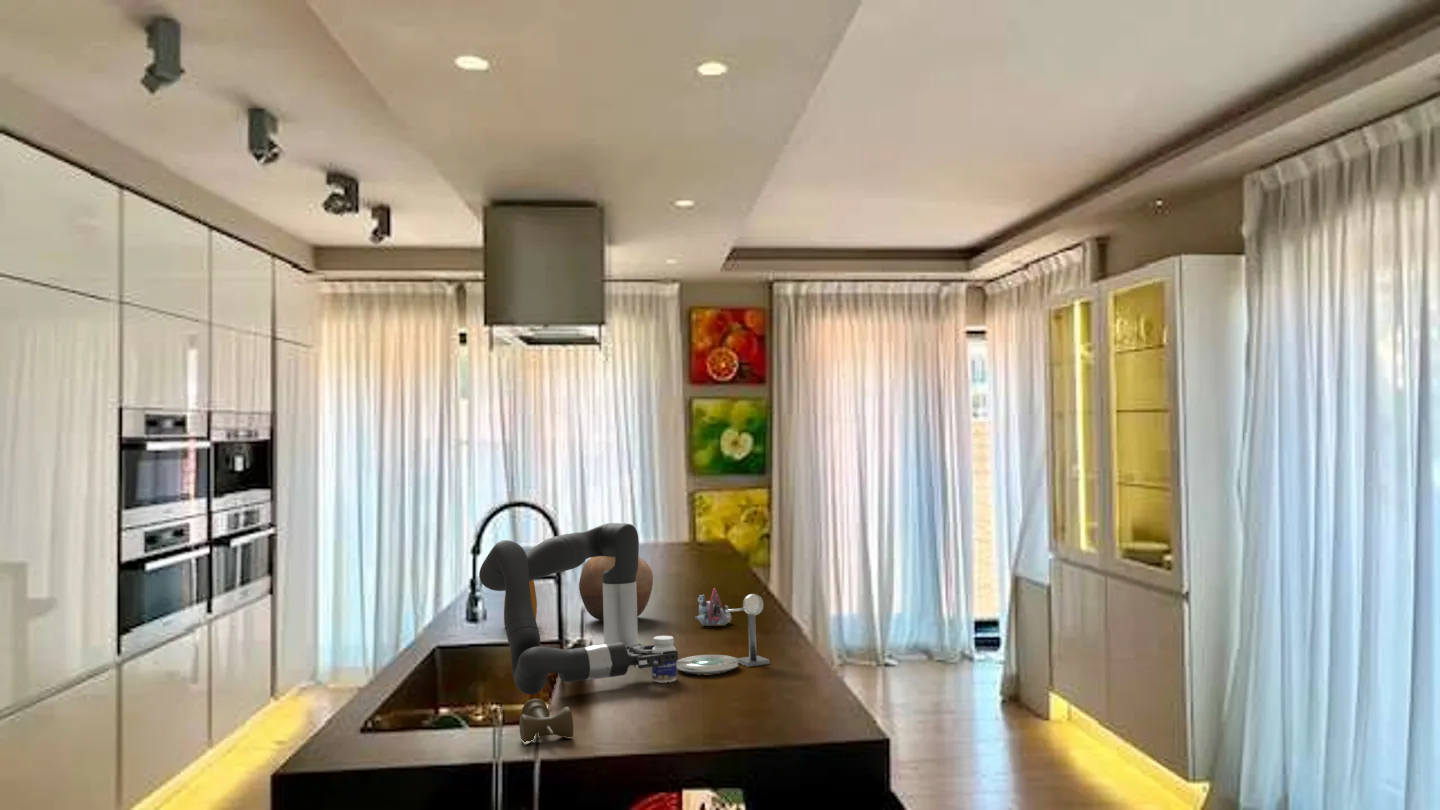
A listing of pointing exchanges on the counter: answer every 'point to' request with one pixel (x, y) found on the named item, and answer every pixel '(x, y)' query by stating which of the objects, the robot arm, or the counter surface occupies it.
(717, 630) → the counter surface
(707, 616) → the grey and red figurine
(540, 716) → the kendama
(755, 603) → the dial stand
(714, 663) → the dish
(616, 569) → the robot arm
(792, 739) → the counter surface
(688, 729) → the counter surface
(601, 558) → the pottery
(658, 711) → the counter surface
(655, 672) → the pill bottle
